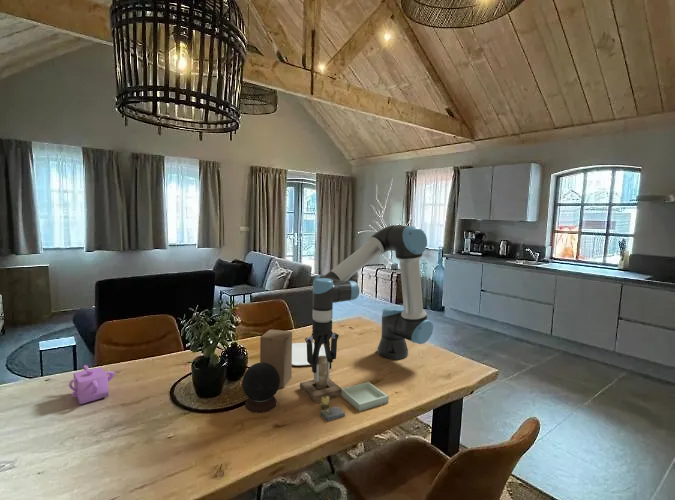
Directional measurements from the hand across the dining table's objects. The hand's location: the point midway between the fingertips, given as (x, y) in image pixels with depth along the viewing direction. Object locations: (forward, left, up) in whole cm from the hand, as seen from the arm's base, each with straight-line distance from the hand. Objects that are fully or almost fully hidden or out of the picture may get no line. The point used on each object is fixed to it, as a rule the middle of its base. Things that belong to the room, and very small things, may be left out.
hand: (321, 378), depth 138 cm
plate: (-10, -36, -6) cm, 38 cm away
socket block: (0, 0, -5) cm, 5 cm away
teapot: (+75, -36, -6) cm, 84 cm away
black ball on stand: (+23, -2, -6) cm, 24 cm away
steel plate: (+4, +16, -5) cm, 17 cm away
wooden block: (+12, -16, -6) cm, 21 cm away
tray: (-12, +12, -5) cm, 18 cm away
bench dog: (+4, +11, -5) cm, 13 cm away
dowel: (0, 0, -4) cm, 4 cm away
